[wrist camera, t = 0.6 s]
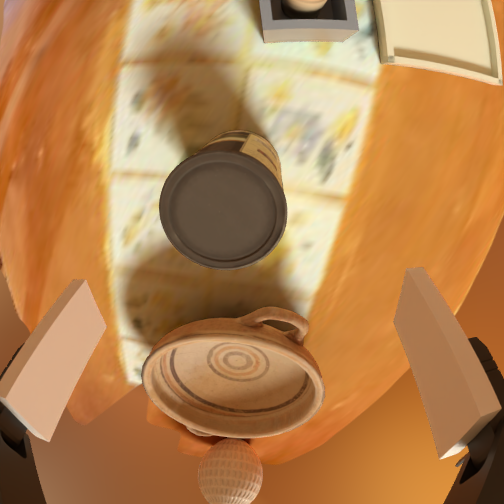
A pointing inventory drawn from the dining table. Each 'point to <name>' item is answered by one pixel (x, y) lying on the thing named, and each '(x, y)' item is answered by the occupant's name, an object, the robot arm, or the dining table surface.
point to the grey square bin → (309, 23)
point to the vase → (230, 473)
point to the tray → (440, 37)
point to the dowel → (302, 8)
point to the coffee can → (226, 202)
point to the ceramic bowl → (236, 375)
